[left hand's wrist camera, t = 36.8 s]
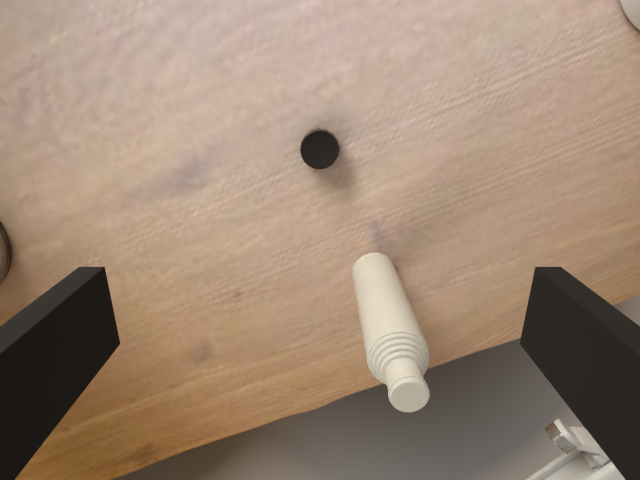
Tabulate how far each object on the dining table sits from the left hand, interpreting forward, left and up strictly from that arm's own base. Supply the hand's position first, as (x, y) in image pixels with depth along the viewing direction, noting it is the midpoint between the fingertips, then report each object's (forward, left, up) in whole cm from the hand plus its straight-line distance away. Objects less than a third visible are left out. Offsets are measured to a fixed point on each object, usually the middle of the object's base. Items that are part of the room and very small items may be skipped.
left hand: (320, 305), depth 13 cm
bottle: (+3, -16, -35) cm, 39 cm away
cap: (0, 0, -33) cm, 33 cm away
